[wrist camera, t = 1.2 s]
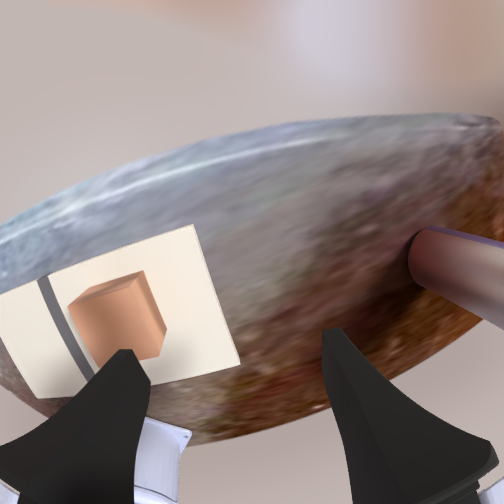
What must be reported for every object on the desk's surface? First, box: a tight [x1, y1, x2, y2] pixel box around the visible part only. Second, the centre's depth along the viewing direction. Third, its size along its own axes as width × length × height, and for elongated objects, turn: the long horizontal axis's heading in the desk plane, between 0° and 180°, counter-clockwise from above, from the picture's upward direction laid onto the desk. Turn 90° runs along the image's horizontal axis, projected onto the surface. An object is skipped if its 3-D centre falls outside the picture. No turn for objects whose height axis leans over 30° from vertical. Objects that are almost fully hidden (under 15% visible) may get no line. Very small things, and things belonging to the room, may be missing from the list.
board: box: [0, 224, 240, 398], centre depth 20 cm, size 24×12×1 cm, turn 105°
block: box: [67, 270, 167, 369], centre depth 18 cm, size 5×5×4 cm
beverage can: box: [408, 226, 504, 330], centre depth 16 cm, size 6×6×15 cm
